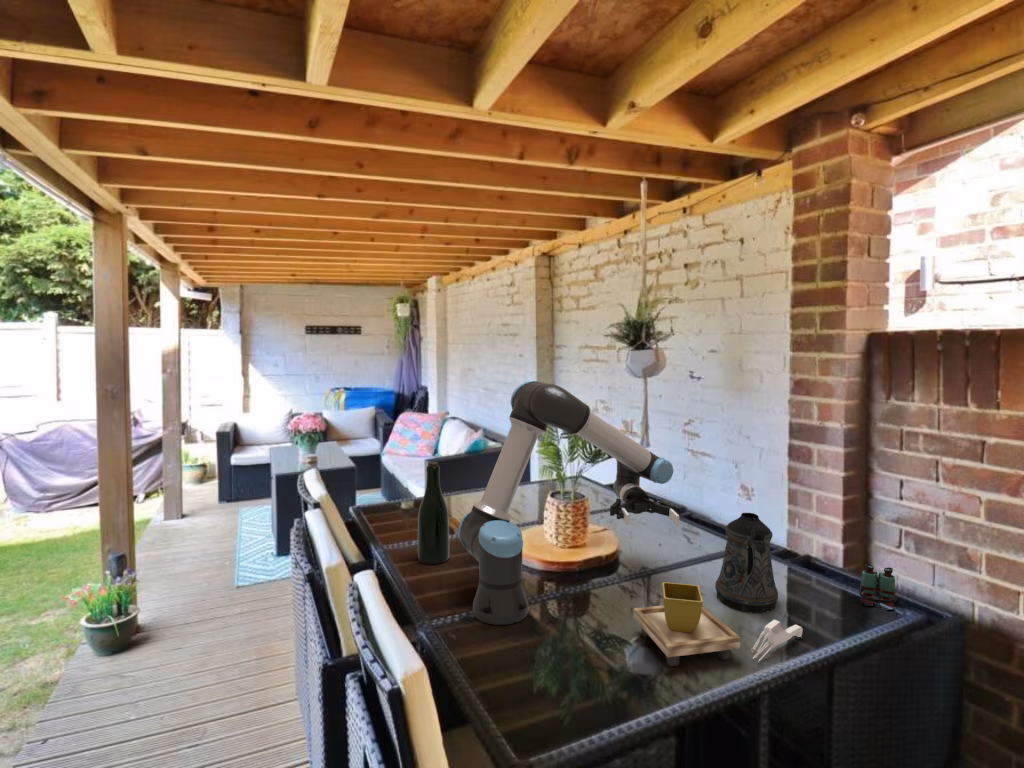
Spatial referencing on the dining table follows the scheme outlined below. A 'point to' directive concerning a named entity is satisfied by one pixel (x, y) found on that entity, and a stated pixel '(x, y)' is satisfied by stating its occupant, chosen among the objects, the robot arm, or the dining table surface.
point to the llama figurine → (776, 636)
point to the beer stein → (747, 567)
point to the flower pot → (682, 606)
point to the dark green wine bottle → (433, 521)
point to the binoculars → (884, 586)
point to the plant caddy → (687, 635)
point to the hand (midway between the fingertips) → (652, 520)
